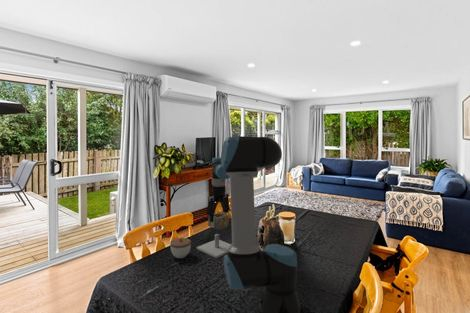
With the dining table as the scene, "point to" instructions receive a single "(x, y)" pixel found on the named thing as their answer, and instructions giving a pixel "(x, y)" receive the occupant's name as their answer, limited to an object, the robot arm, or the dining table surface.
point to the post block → (215, 247)
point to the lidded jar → (180, 247)
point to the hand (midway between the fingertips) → (218, 225)
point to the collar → (220, 220)
